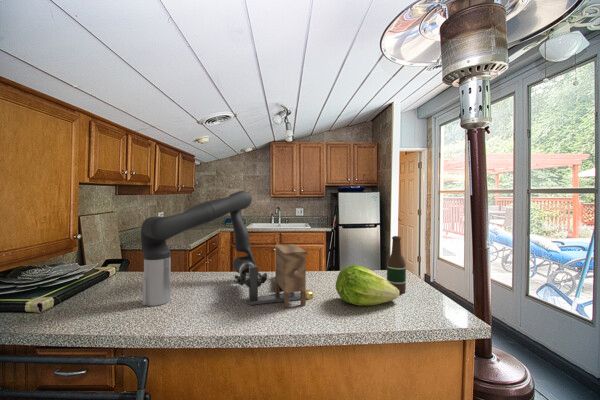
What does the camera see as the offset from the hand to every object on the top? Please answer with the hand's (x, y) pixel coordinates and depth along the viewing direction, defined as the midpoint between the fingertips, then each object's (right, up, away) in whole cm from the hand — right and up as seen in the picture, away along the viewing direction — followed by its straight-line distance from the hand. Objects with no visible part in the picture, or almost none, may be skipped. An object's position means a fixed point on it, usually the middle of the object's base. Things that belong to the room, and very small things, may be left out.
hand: (254, 284), depth 103 cm
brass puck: (+20, -8, +9) cm, 24 cm away
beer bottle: (+59, -8, +17) cm, 62 cm away
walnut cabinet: (+13, -8, +7) cm, 17 cm away
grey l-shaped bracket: (+8, -8, +5) cm, 12 cm away
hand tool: (+7, -8, +28) cm, 30 cm away
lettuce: (+44, -8, +4) cm, 45 cm away
